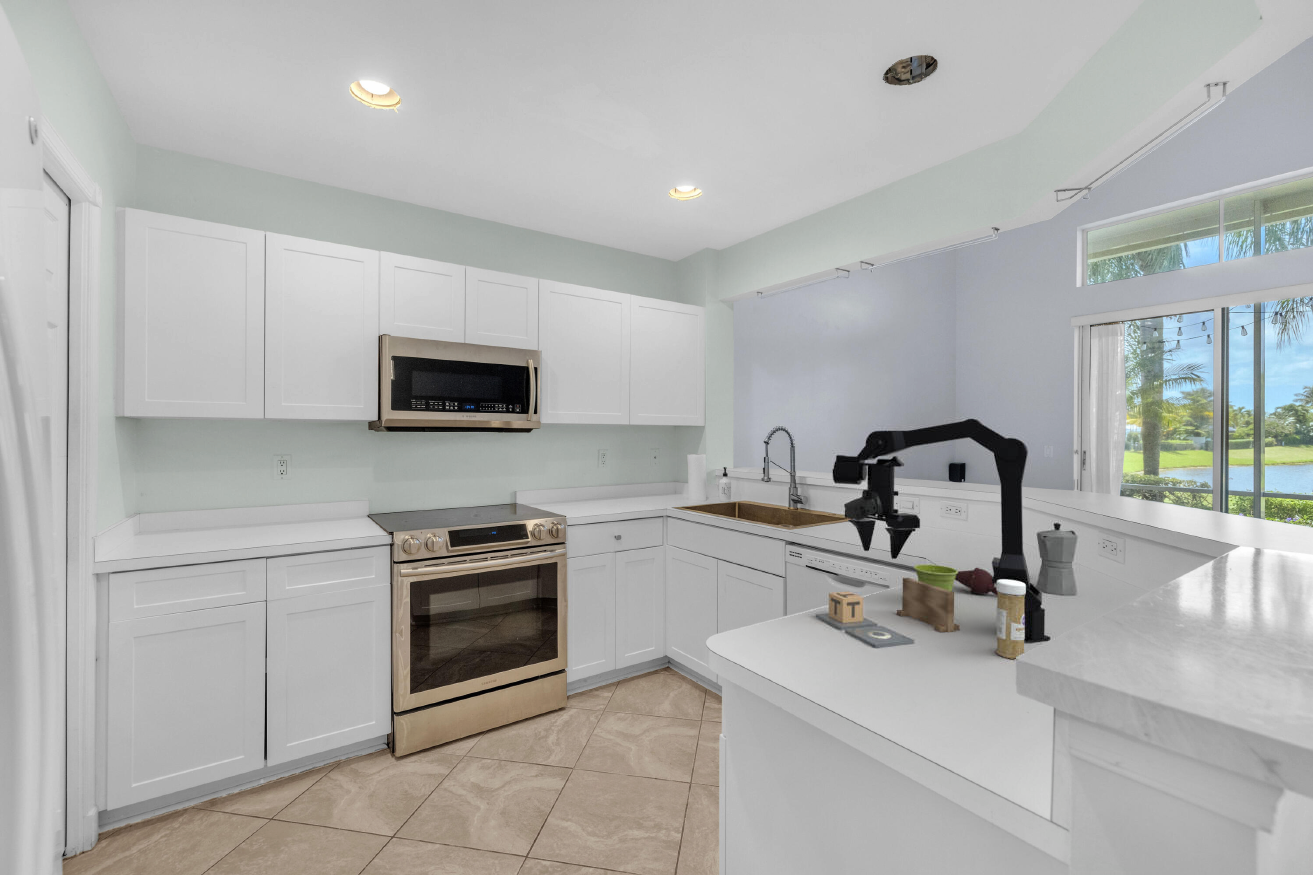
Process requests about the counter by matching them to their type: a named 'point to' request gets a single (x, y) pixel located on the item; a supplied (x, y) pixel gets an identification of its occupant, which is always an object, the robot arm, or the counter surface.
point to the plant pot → (936, 575)
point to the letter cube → (846, 607)
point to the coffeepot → (1057, 561)
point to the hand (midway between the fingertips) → (879, 554)
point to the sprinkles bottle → (1010, 618)
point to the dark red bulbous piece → (977, 581)
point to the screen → (928, 605)
